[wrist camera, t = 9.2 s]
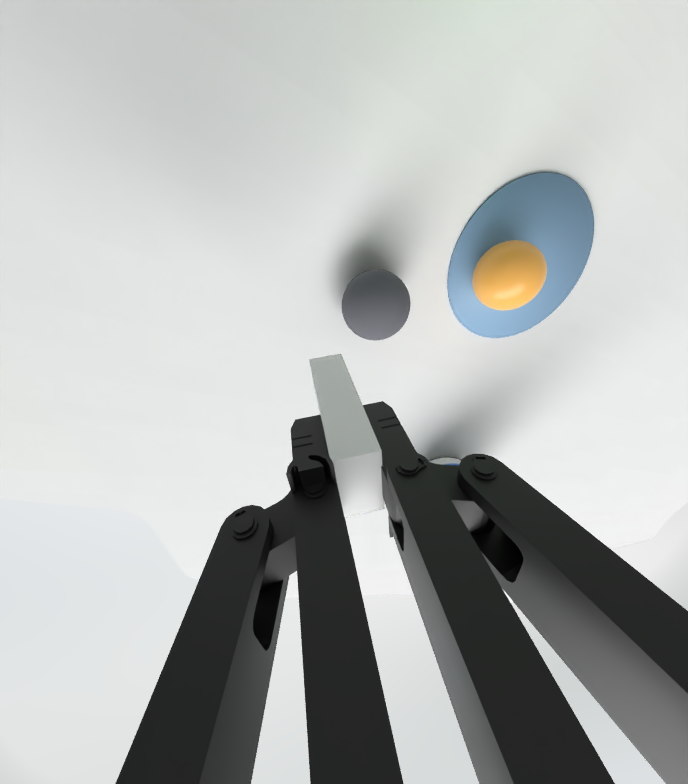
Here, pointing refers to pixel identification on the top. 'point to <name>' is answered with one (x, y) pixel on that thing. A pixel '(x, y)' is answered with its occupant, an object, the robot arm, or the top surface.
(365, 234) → the top surface
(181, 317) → the top surface
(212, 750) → the robot arm
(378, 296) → the gray sphere
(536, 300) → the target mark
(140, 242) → the top surface
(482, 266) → the object ball
